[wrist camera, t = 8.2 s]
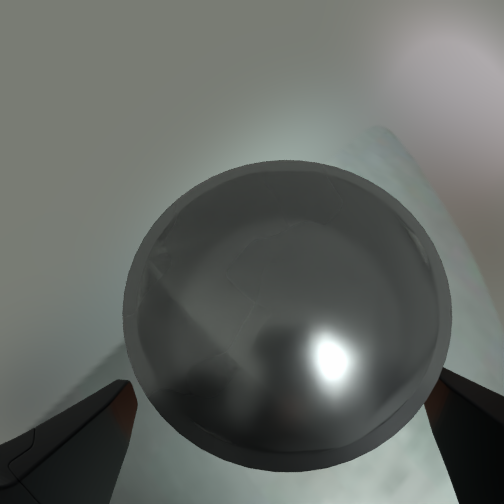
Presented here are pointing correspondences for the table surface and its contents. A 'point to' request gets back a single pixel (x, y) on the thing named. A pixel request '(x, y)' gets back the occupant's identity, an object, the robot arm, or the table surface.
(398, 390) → the grey ribbed cylinder
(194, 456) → the table surface
